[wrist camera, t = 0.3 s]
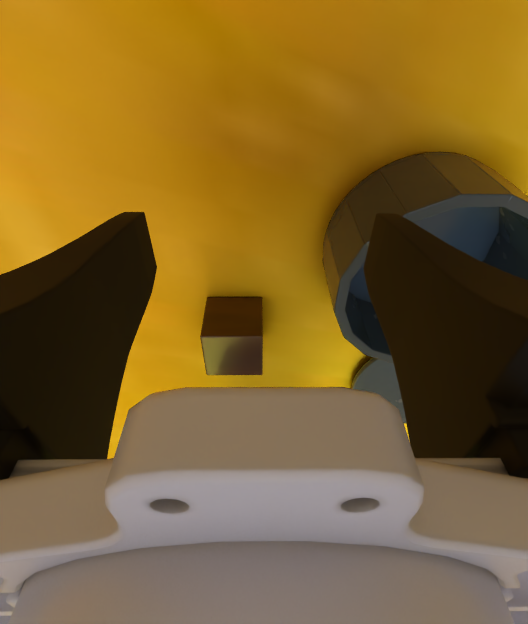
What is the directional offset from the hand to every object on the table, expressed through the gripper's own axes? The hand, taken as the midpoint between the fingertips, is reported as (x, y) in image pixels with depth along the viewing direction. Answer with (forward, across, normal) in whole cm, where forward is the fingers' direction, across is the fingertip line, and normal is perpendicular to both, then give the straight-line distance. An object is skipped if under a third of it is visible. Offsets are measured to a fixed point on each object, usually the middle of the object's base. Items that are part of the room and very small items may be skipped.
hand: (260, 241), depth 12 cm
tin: (+10, -10, +6) cm, 15 cm away
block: (+10, +2, +12) cm, 16 cm away
